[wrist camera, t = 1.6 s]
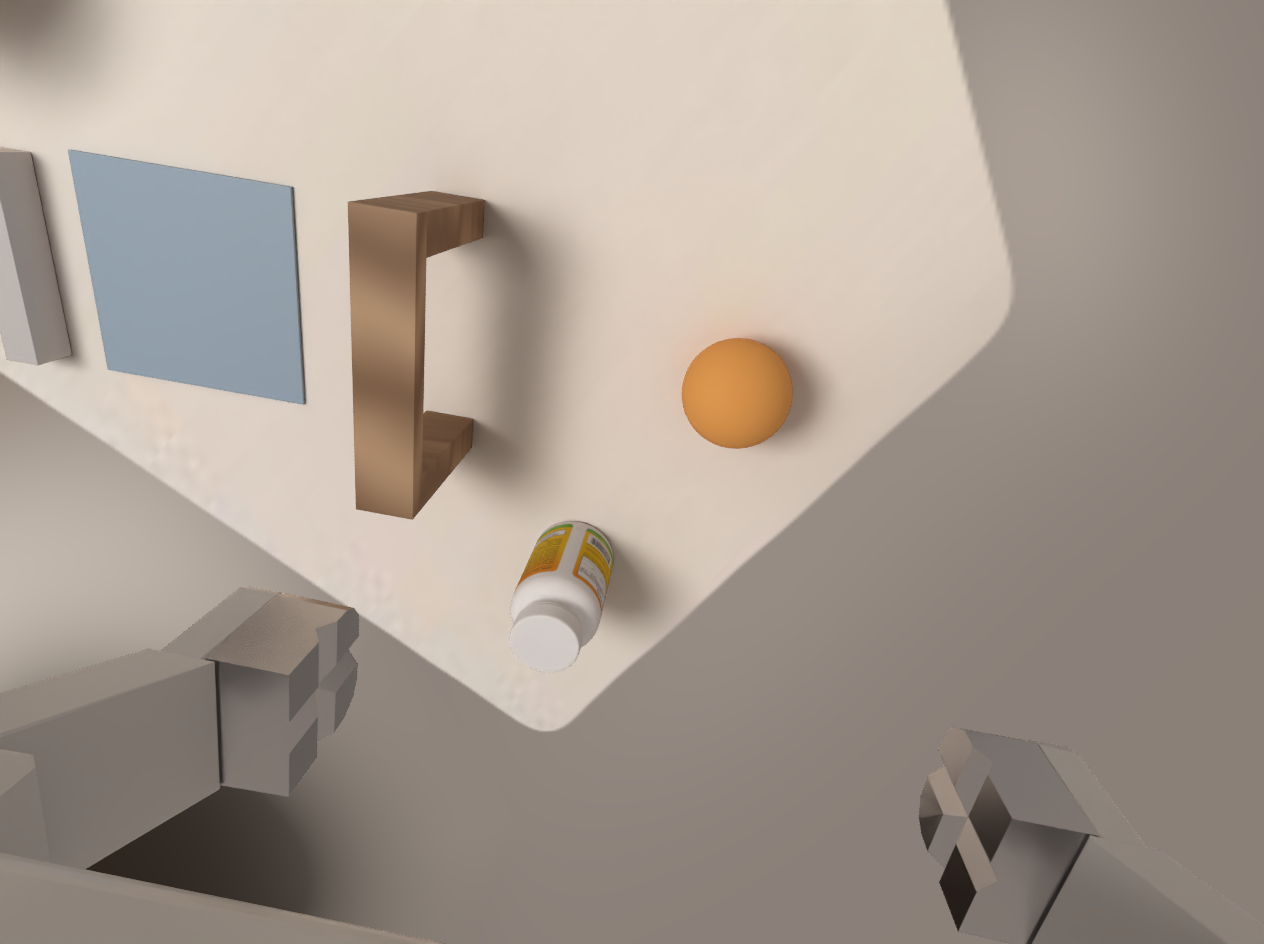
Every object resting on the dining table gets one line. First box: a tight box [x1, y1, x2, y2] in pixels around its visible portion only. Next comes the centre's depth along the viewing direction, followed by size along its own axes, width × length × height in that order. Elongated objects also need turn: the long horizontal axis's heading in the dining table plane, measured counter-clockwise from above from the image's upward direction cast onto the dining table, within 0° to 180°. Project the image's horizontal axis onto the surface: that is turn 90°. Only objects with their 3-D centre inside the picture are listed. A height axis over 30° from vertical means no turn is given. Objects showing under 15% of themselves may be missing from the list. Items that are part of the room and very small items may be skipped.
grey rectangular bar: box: [0, 147, 72, 365], centre depth 41 cm, size 12×2×2 cm, turn 172°
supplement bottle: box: [509, 521, 613, 673], centre depth 43 cm, size 5×5×10 cm
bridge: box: [348, 191, 485, 520], centre depth 37 cm, size 15×3×10 cm, turn 172°
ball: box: [682, 338, 793, 448], centre depth 38 cm, size 6×6×6 cm
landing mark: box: [68, 150, 305, 404], centre depth 42 cm, size 13×13×1 cm
